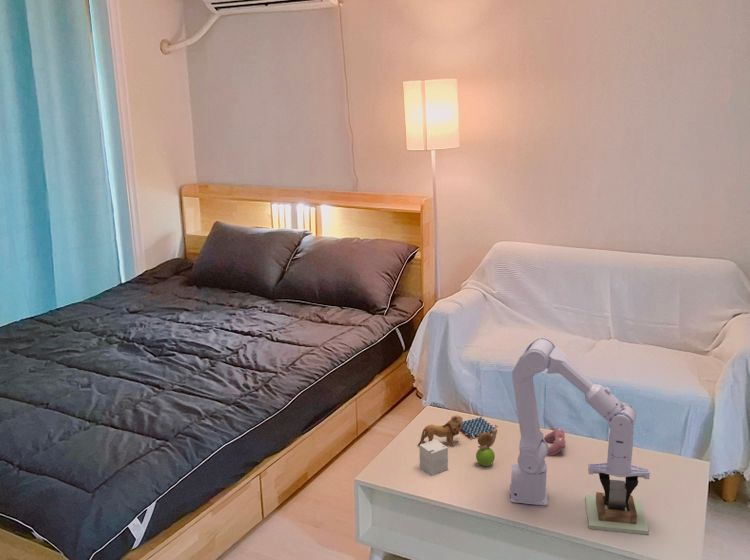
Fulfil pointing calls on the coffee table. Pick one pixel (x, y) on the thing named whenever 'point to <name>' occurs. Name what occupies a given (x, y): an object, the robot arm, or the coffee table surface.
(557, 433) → the video game controller
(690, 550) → the coffee table surface
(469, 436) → the woven mat
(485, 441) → the animal on green ball
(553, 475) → the coffee table surface
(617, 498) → the grey brown rectangular block
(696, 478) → the coffee table surface
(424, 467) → the skincare box
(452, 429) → the lion figurine
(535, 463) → the robot arm
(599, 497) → the socket block
